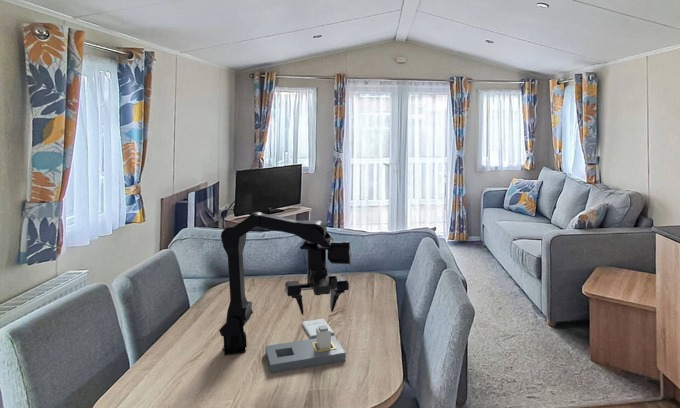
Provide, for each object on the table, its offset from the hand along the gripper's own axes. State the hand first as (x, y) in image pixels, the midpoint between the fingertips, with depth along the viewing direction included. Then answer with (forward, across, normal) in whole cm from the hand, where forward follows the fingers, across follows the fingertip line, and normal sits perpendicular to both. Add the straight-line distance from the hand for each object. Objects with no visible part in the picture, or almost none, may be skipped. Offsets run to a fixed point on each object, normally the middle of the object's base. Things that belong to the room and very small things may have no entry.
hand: (317, 312), depth 130 cm
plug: (+13, +2, -2) cm, 13 cm away
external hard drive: (+14, +4, +16) cm, 21 cm away
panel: (+13, -4, -2) cm, 14 cm away
